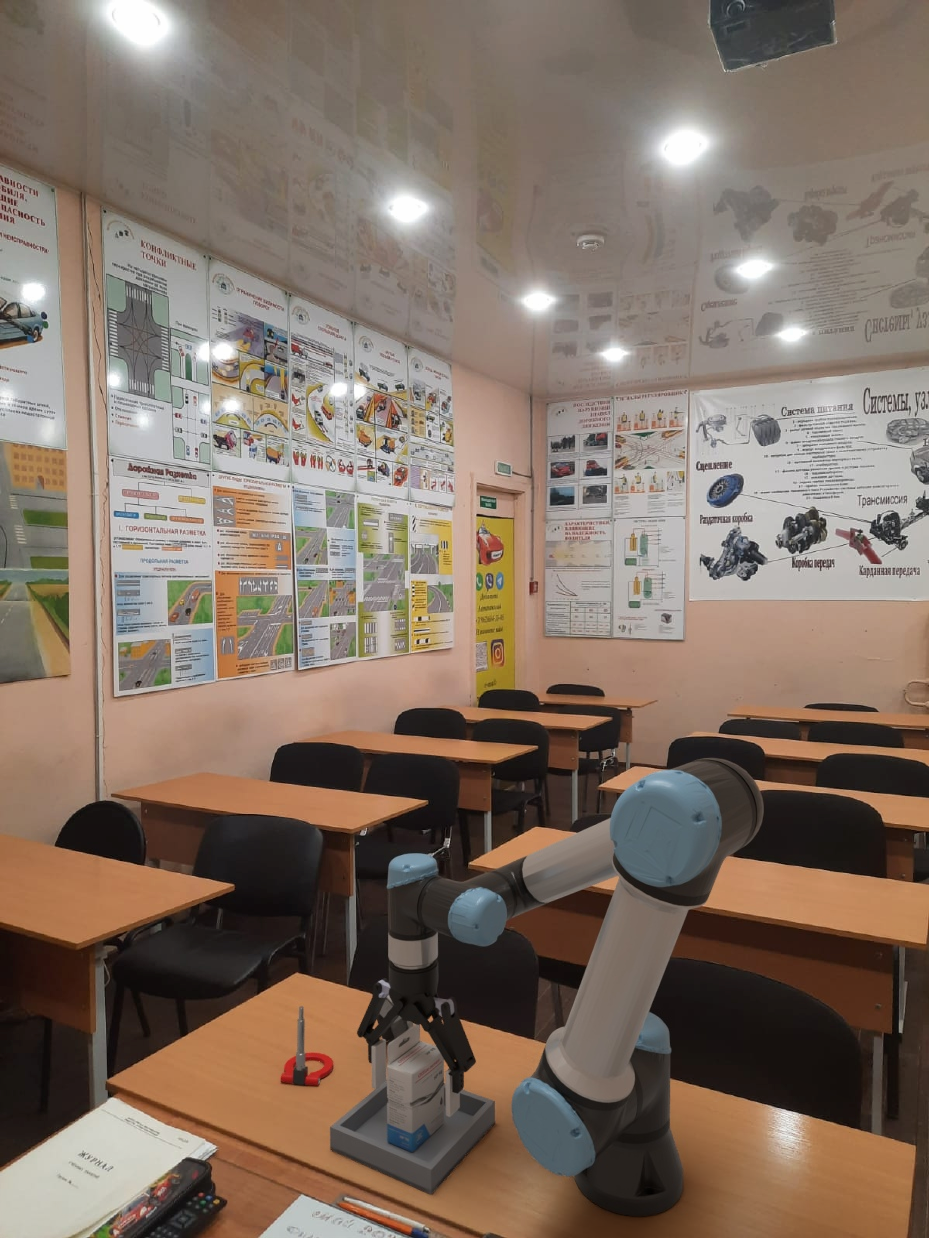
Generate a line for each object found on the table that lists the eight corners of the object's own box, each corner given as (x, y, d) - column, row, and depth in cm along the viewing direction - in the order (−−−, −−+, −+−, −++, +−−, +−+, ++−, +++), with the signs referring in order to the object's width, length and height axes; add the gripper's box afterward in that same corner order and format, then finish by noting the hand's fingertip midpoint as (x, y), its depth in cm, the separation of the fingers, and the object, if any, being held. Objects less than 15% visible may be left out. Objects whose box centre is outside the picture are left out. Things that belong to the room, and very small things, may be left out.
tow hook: (294, 1056, 148) (274, 1084, 139) (295, 984, 148) (275, 1007, 139) (339, 1060, 147) (322, 1088, 138) (340, 987, 147) (323, 1010, 138)
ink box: (412, 1154, 120) (411, 1054, 120) (385, 1142, 123) (385, 1044, 122) (445, 1123, 127) (444, 1028, 127) (420, 1112, 130) (419, 1020, 129)
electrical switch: (423, 1059, 146) (418, 1008, 146) (397, 1070, 144) (392, 1019, 143) (400, 1035, 154) (395, 987, 154) (375, 1045, 152) (370, 997, 151)
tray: (494, 1122, 128) (494, 1100, 128) (431, 1194, 113) (431, 1169, 113) (401, 1088, 137) (400, 1067, 137) (330, 1149, 122) (330, 1126, 122)
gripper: (497, 967, 121) (498, 1109, 121) (363, 933, 134) (365, 1062, 134) (471, 988, 115) (472, 1138, 115) (333, 950, 128) (335, 1085, 128)
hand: (415, 1097), depth 125 cm, fingers open, 13 cm apart
